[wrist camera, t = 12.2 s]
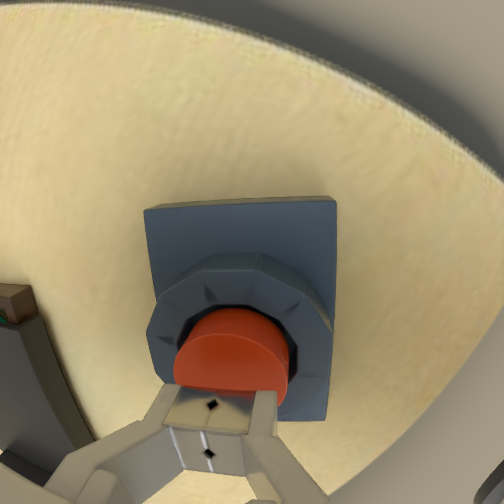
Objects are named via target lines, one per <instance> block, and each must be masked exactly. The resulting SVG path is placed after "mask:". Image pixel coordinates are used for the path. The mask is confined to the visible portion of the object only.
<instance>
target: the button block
mask: <svg viewBox="0 0 504 504" xmlns="http://www.w3.org/2000/svg"><path fill="white" fill-rule="evenodd" d="M143 213H144V222H145V230H146V238H147V246H148V253H149V260H150V266H151V273H152V279H153V285H154V291H155V297H156V303H157V304H156V306H155V309H154V311H153V314H152V317H151V319H150V322H149V324H148V327H147V330H146V337H147V341H148V345H149V349H150V354H151V358H152V362H153V365H154V369H155V372H156V374H157V375H158V376H159V377H160V378H161V379H162V381H163V382H164V383H165V384H166V383H170V384H176V382H175V379H174V374H173V366H174V361H175V358H176V355H177V354H178V352H179V350H180V349H181V347H182V345H183V344H184V342H185V340H186V339H187V337H188V335H189V334H190V332H191V330H192V329H193V327H194V325H195V324H196V323H197V322H198V321H199V320H200V319H201V318H202V317H204V316H205V315H207V314H209V313H211V312H213V311H216V310H220V309H226V308H241V309H246V310H250V311H253V312H256V313H258V314H261V315H263V316H264V317H266V318H268V319H269V320H270V321H272V322H273V323H274V324H275V325H276V326H277V327H278V328H279V329H280V330H281V332H282V333H283V335H284V337H285V339H286V341H287V343H288V347H289V373H288V389H287V393H286V396H285V398H284V400H283V401H282V403H281V404H280V406H279V407H278V408H277V416H278V421H325V419H326V413H327V404H328V395H329V385H330V374H331V363H332V350H333V335H334V319H335V297H336V264H337V203H336V201H335V200H334V199H333V198H332V197H330V196H300V197H270V198H247V199H228V200H211V201H196V202H182V203H169V204H160V205H157V206H154V207H151V208H148V209H145V210H144V212H143Z"/></svg>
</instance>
